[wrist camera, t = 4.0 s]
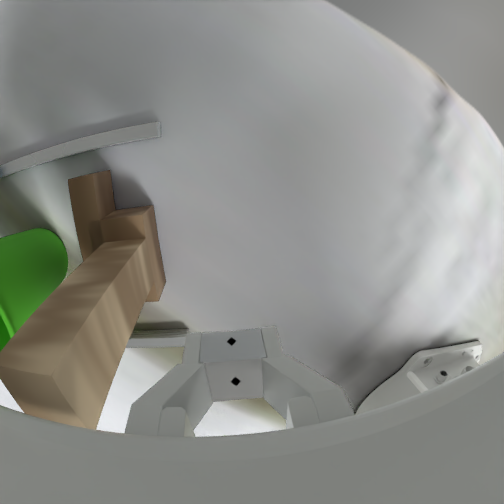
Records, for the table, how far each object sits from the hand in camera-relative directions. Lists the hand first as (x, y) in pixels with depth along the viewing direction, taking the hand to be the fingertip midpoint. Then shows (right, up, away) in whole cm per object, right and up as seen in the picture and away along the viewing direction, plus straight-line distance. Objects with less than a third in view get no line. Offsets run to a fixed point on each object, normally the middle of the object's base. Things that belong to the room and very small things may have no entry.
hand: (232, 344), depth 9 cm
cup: (-17, +3, +10) cm, 20 cm away
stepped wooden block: (-9, +4, +11) cm, 14 cm away
